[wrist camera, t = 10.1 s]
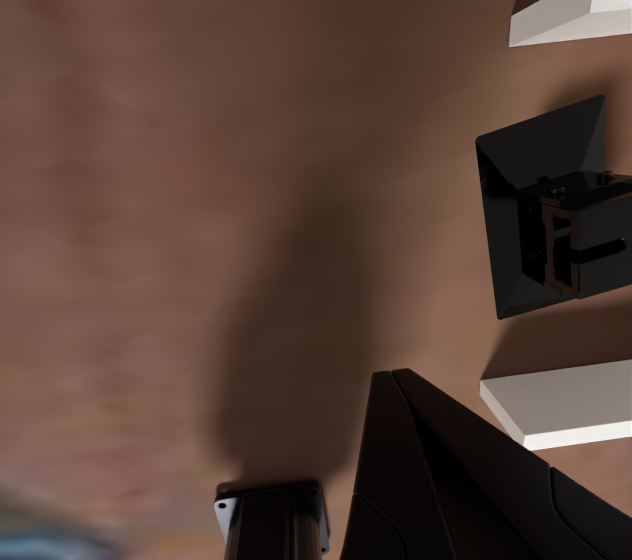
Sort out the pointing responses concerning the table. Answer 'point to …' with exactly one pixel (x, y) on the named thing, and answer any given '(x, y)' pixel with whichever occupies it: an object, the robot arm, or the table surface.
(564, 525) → the robot arm
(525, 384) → the box
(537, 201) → the build plate
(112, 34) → the table surface
